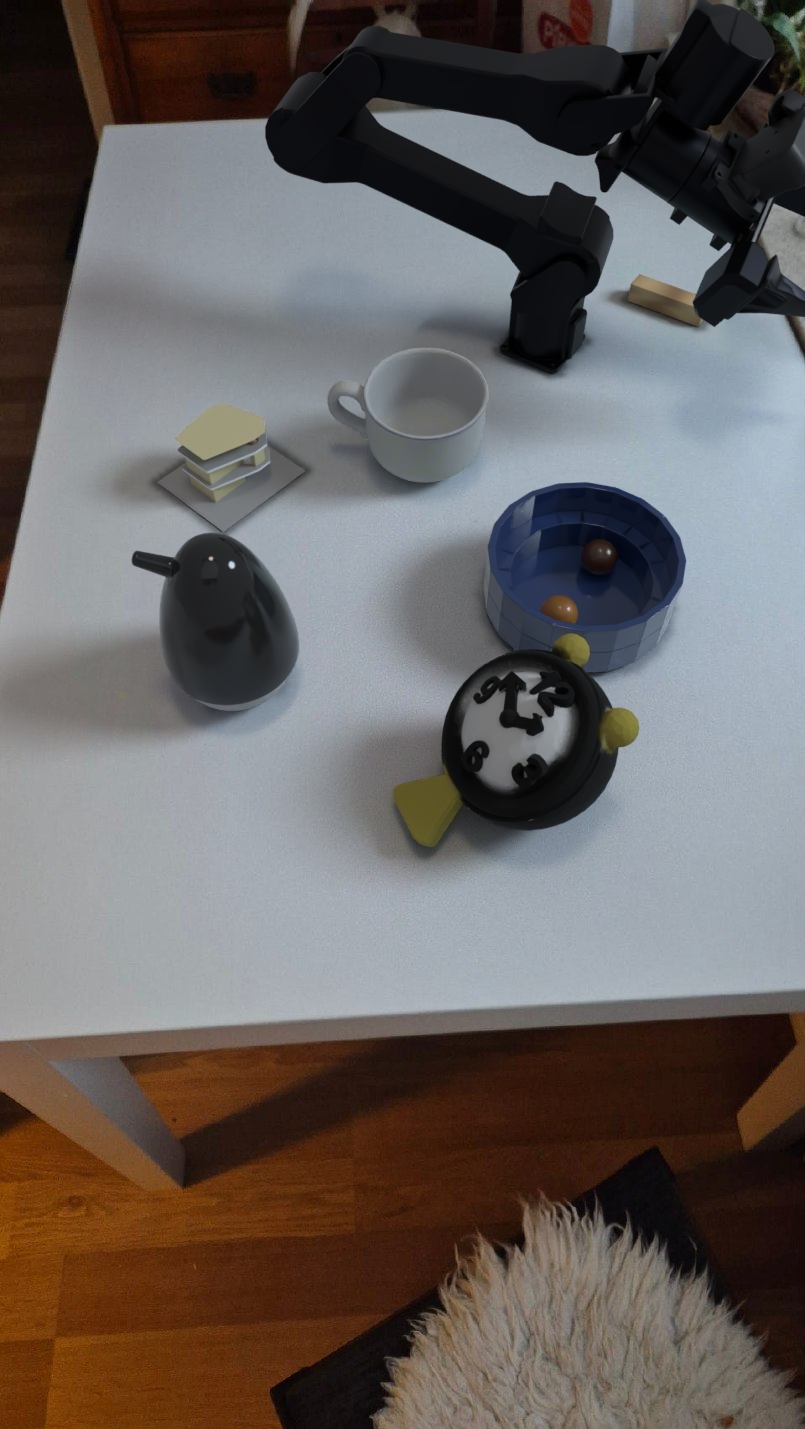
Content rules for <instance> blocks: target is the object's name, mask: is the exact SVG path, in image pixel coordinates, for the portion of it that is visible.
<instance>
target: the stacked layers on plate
mask: <svg viewBox="0 0 805 1429" xmlns="http://www.w3.org/2000/svg"><path fill="white" fill-rule="evenodd" d="M174 440H175V441H176V442H178V443H179V444H180V445H181V446H180V447H178V449H177V453H178V454H179V455H180V456H182V457H183V458H184V461H185V462H184V463H183V464H181V465H180V466H178V467H177V468H176V469H174V470H173V471H171V472H170V473H168V474H167V475H166V476H164V477H163V478H161V479H159V481H157V484H159V485H160V486H161V487H162V488H164V490H167V491H168V492H169V493H171V494H172V495H173V496H174V497H176V498H177V499H179V500H180V501H182V502H183V503H184V504H185V505H186V506H188V507H189V508H191V509H192V510H193V511H194V512H196V513H197V514H199V515H200V516H201V517H202V518H204V519H205V520H207V521H208V522H209V523H211V524H212V525H213V526H215V527H216V528H217V529H219V530H220V531H221V532H222V533H225V532H226V531H228V530H229V529H230V528H231V527H233V526H234V525H235V524H237V523H238V522H239V521H241V520H242V519H243V518H245V517H246V516H248V514H250V513H251V512H253V511H254V510H256V509H257V508H258V507H259V506H261V505H263V503H265V502H266V501H268V500H269V499H270V498H271V497H273V496H274V495H275V494H277V493H278V492H279V491H281V490H282V489H283V488H285V487H286V486H288V485H289V484H290V483H292V482H293V481H294V480H296V479H297V478H298V477H300V476H301V475H302V474H304V473H305V472H306V470H305V469H303V468H302V467H301V466H299V465H297V464H296V463H294V462H293V461H291V460H290V459H289V458H287V457H286V456H285V455H283V454H282V453H280V452H278V451H277V450H276V449H274V448H273V447H271V446H270V445H269V444H268V435H267V429H266V425H265V418H264V417H263V416H261V415H259V414H256V413H253V412H251V411H248V410H245V409H243V408H240V407H237V406H234V405H231V404H227V403H219V404H215V405H212V406H209V407H208V408H207V409H205V410H204V412H202V413H201V414H200V415H199V416H198V417H196V418H195V419H194V420H193V421H192V422H191V423H190V424H189V425H188V426H187V427H185V428H184V429H183V430H182V431H181V432H180V433H179V434H178V435H176V436H175V437H174Z"/></svg>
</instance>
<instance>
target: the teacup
mask: <svg viewBox="0 0 805 1429" xmlns="http://www.w3.org/2000/svg"><path fill="white" fill-rule="evenodd" d="M341 397H348V398H352V399H354V400H355V401H356V402H357V403H358V404H359V407H360V408H361V410H362V411H363V412H364V415H365V417H361V416H359V415H356V414H355V413H353V412H352V411H350V410H348V409H347V408H346V407H344V406H343V404H341V402H340V400H339V399H340V398H341ZM488 402H489V385H488V380H487V379H486V377H485V375H484V373H483V372H482V371H481V369H480V368H479V367H478V366H477V365H476V364H474V362H473V361H470V360H469V359H468V358H467V357H465V356H463V355H461V354H459V353H456V352H453V351H451V350H448V349H443V348H438V347H430V346H429V347H427V346H426V347H413V348H408V349H403V350H400V351H397V352H394V353H393V354H390V355H388V356H387V357H385V358H383V359H382V360H381V361H379V362H378V363H377V364H376V365H375V366H374V367H373V368H372V370H371V371H370V372H369V374H368V376H367V377H366V380H365V382H364V385H362V384H361V383H359V382H356V381H353V380H348V379H343V380H339V381H337V382H336V383H334V384H332V386H331V388H330V389H329V391H328V393H327V401H326V403H327V407H328V411H329V413H330V414H331V415H332V417H333V418H334V419H335V420H336V421H337V422H339V423H340V424H342V425H343V426H345V427H346V428H349V429H351V430H353V431H355V432H357V433H359V435H360V436H361V437H362V438H363V439H364V440H367V441H368V444H369V447H370V450H371V453H372V454H373V456H374V458H375V460H376V461H377V463H378V464H379V465H380V466H381V467H382V468H384V469H385V470H386V471H387V472H389V473H390V474H392V475H393V476H395V477H398V478H400V479H402V480H405V481H409V482H413V483H414V482H415V483H435V482H441V481H445V480H448V479H450V478H452V477H454V476H456V475H458V474H459V473H461V472H462V471H464V470H465V469H466V468H467V467H468V466H469V465H470V464H471V463H472V462H473V460H474V459H475V457H476V456H477V454H478V453H479V450H480V448H481V444H482V440H483V435H484V430H485V422H486V411H487V406H488Z"/></svg>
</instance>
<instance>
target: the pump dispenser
mask: <svg viewBox="0 0 805 1429" xmlns="http://www.w3.org/2000/svg"><path fill="white" fill-rule="evenodd" d="M130 560H131V564H132V566H133V567H135V568H139V569H142V570H144V571H146V572H147V571H148V572H149V573H153V574H156V575H159V576H162V577H164V581H163V584H162V588H161V594H160V600H159V608H158V609H159V610H158V624H159V625H158V627H159V639H160V646H161V652H162V657H163V660H164V664H165V668H166V669H167V671H168V674H169V676H170V678H171V679H172V681H173V682H174V683H175V686H177V688H179V689H180V690H181V691H182V692H184V693H185V694H186V695H188V697H191V698H193V699H194V700H195V701H197V702H198V703H201V704H203V705H204V706H206V707H209V708H212V709H215V710H220V711H227V712H237V711H244V710H249V709H252V708H256V707H258V706H260V705H262V704H263V703H266V702H267V701H268V700H270V699H272V698H273V697H274V696H275V695H276V694H277V693H279V691H280V690H281V689H282V688H283V687H284V685H285V684H286V682H287V681H288V679H289V677H290V675H291V673H292V671H293V670H294V669H295V666H296V664H297V661H298V658H299V653H300V636H299V631H298V626H297V623H296V620H295V617H294V614H293V611H292V609H291V607H290V604H289V602H288V600H287V598H286V595H285V594H284V591H283V590H282V588H281V586H280V585H279V583H278V582H277V580H276V578H275V577H274V575H273V574H272V573H271V571H270V570H269V569H268V567H267V566H266V565H265V564H264V563H263V561H262V560H261V559H260V558H259V557H258V556H257V555H256V554H255V552H253V550H251V549H250V548H249V547H248V546H247V545H245V544H244V543H243V542H241V541H239V540H238V539H236V538H234V537H232V536H230V535H227V534H225V533H220V532H204V533H200V534H196V535H194V536H192V537H191V538H189V539H187V541H185V542H184V543H183V544H182V545H181V547H180V548H179V549H178V550H177V552H176V553H175V555H174V556H168V555H163V554H157V553H152V552H147V551H141V550H135V551H133V553H132V555H131V559H130Z"/></svg>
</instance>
